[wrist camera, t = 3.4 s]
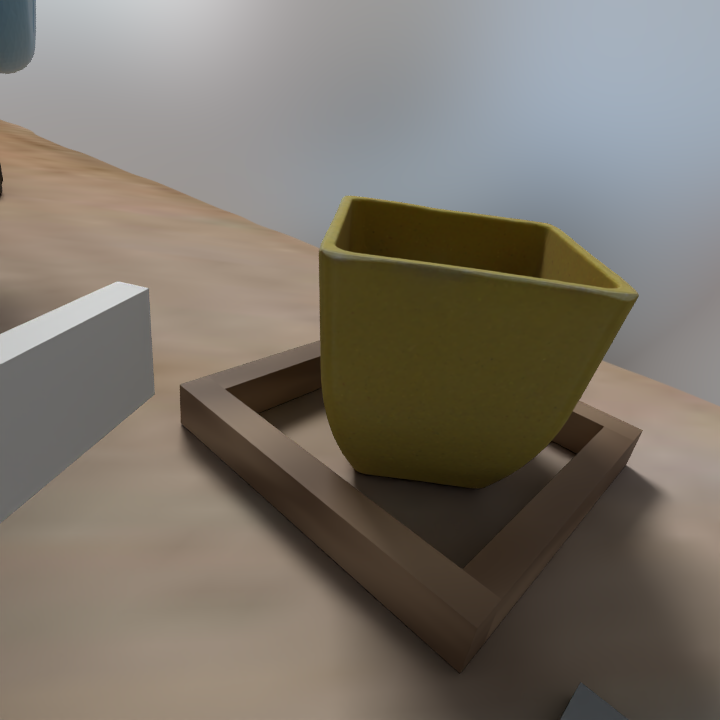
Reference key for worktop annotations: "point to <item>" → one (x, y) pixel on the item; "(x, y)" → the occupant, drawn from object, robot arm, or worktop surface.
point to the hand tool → (1, 180)
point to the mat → (589, 707)
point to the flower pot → (456, 338)
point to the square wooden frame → (381, 530)
